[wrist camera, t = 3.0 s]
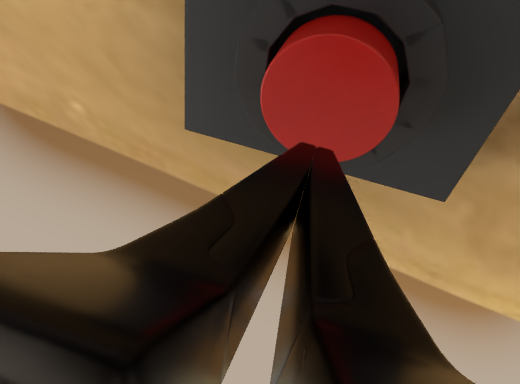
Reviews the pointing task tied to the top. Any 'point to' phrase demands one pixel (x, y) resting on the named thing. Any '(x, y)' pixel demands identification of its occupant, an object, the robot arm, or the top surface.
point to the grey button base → (410, 78)
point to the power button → (332, 87)
